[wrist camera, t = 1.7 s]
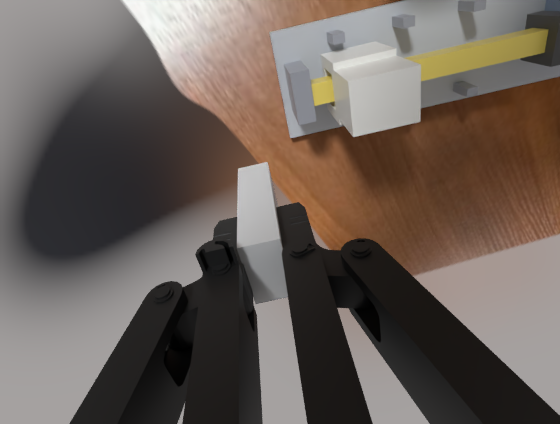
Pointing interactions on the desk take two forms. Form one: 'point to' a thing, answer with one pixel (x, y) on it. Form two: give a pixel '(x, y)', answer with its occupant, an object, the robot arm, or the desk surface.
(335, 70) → the sleeve
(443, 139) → the desk surface
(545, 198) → the desk surface
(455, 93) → the comb rig
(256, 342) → the robot arm
